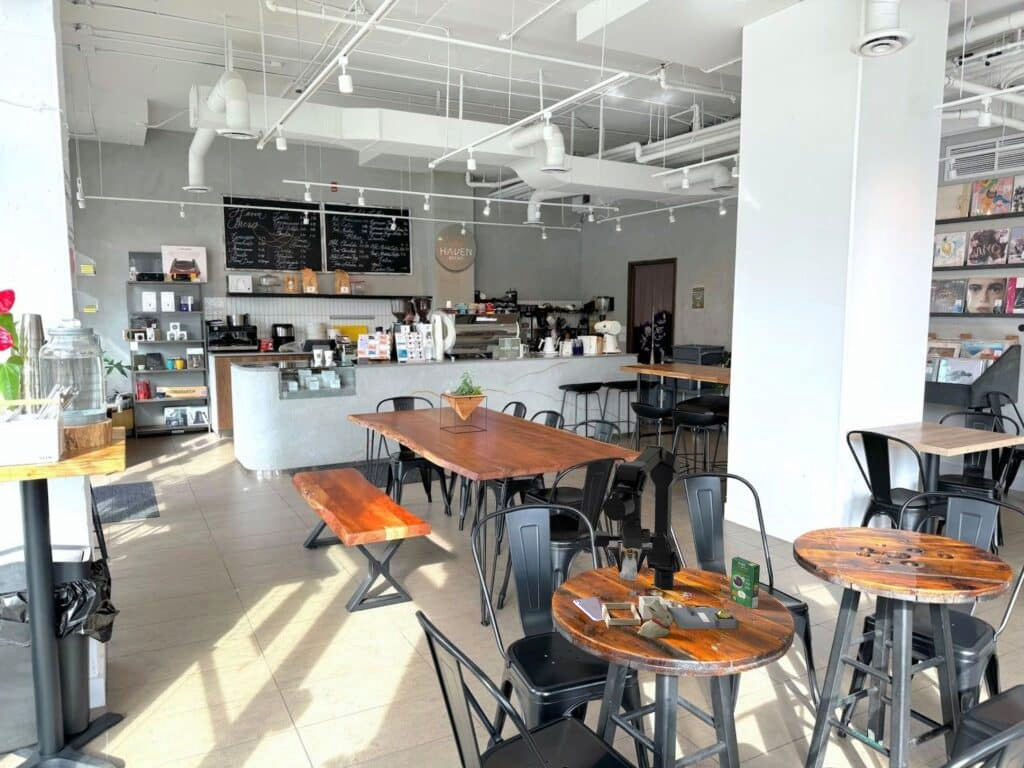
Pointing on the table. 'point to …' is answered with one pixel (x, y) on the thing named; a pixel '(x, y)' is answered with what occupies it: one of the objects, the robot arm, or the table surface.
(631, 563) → the cylinder
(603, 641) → the table surface
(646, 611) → the cup
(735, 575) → the coffee box
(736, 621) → the grey board with socket
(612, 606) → the beige shallow rectangular frame
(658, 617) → the chocolate bunny
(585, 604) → the mobile phone
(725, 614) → the button
